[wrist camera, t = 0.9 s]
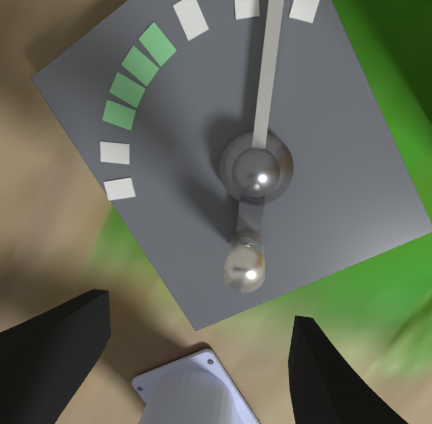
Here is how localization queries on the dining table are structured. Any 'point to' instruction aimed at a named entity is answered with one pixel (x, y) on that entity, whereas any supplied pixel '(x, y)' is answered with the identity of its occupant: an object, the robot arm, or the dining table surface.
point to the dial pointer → (255, 172)
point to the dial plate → (224, 134)
